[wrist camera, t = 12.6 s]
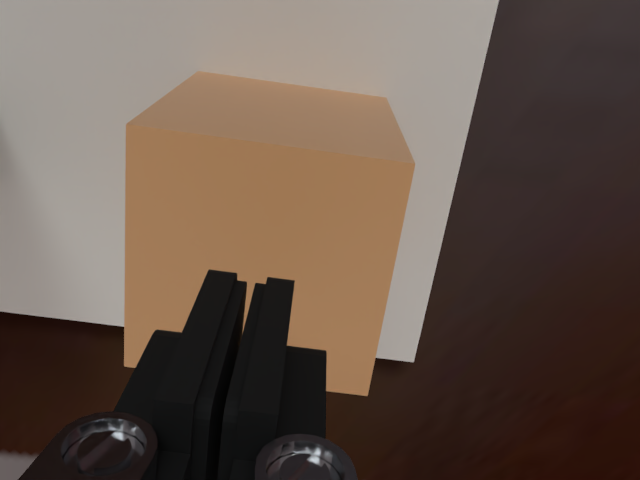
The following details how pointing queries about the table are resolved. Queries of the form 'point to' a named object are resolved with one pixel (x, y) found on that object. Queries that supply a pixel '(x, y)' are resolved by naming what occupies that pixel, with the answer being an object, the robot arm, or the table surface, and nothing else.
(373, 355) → the block
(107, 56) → the board
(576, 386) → the table surface
